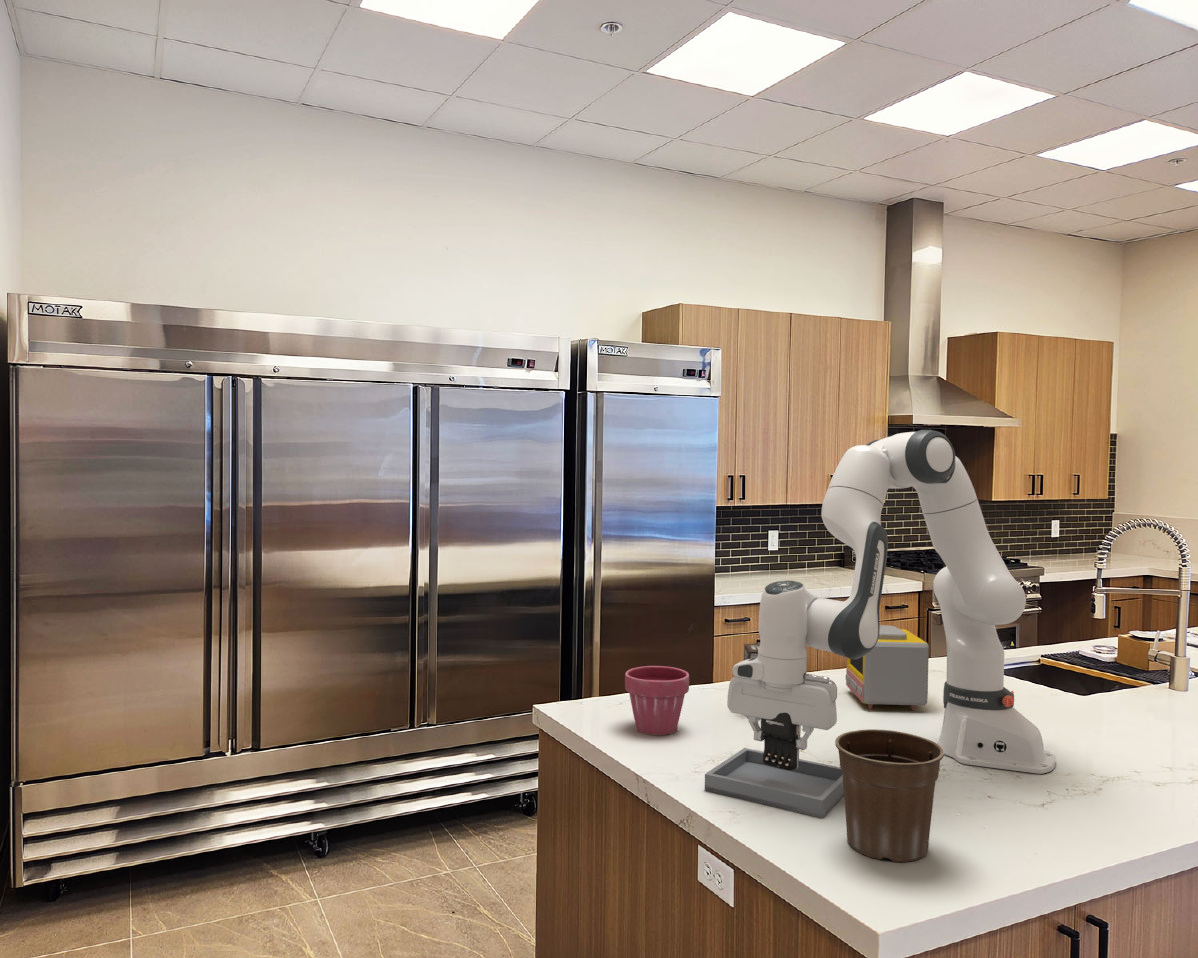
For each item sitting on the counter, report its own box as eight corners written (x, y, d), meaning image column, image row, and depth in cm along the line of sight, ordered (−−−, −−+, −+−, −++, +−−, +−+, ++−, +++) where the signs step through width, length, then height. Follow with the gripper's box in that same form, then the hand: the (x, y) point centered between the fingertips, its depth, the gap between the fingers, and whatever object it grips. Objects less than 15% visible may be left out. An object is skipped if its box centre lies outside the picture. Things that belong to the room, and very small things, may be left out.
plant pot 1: (616, 735, 194) (617, 676, 194) (633, 717, 208) (634, 663, 207) (681, 742, 190) (682, 682, 190) (693, 724, 203) (694, 668, 203)
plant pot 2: (898, 880, 129) (901, 769, 128) (811, 840, 142) (813, 740, 141) (962, 852, 138) (965, 749, 138) (875, 817, 151) (877, 723, 151)
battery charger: (756, 764, 165) (758, 703, 165) (767, 759, 168) (769, 699, 168) (790, 773, 161) (791, 711, 160) (800, 768, 163) (802, 706, 163)
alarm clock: (843, 690, 235) (844, 621, 235) (904, 692, 234) (905, 622, 234) (862, 712, 215) (864, 636, 215) (928, 713, 215) (930, 637, 214)
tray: (853, 785, 166) (854, 769, 166) (822, 817, 151) (822, 800, 151) (744, 762, 178) (744, 747, 178) (704, 790, 163) (704, 773, 162)
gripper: (842, 674, 161) (841, 750, 161) (738, 659, 172) (736, 730, 172) (831, 681, 156) (829, 760, 156) (724, 665, 167) (723, 738, 167)
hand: (780, 744), depth 164 cm, fingers closed on battery charger, 7 cm apart
